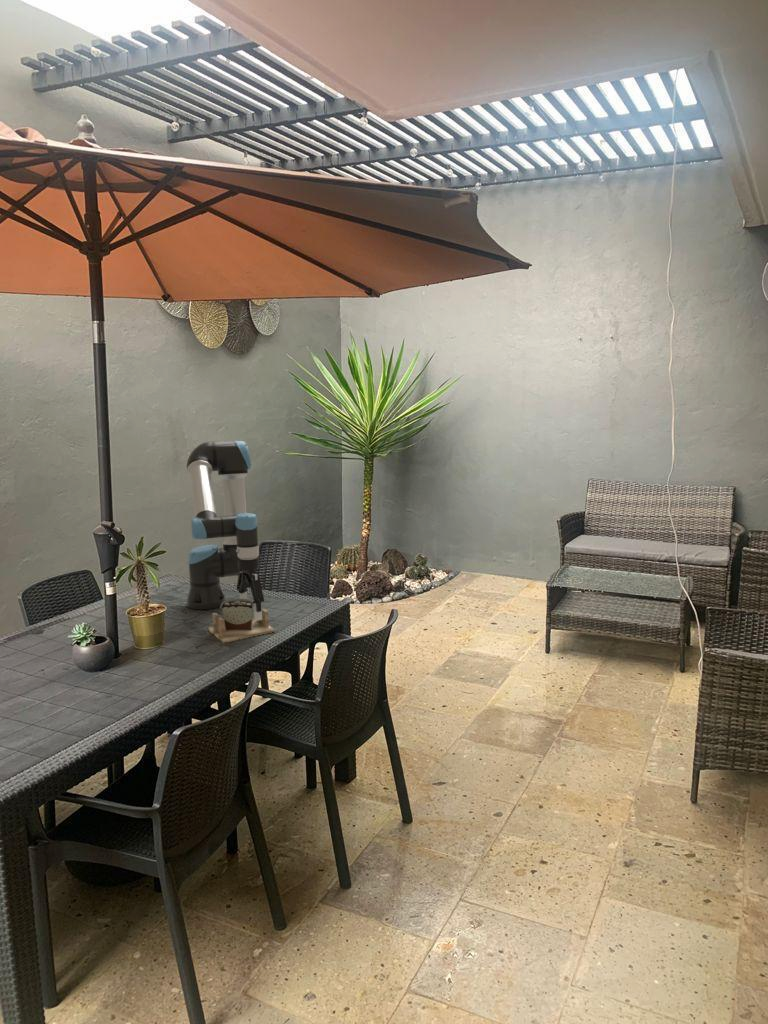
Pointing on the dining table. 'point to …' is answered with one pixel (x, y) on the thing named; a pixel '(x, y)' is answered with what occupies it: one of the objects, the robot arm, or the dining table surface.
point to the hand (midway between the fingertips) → (251, 615)
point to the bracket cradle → (228, 636)
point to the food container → (237, 614)
